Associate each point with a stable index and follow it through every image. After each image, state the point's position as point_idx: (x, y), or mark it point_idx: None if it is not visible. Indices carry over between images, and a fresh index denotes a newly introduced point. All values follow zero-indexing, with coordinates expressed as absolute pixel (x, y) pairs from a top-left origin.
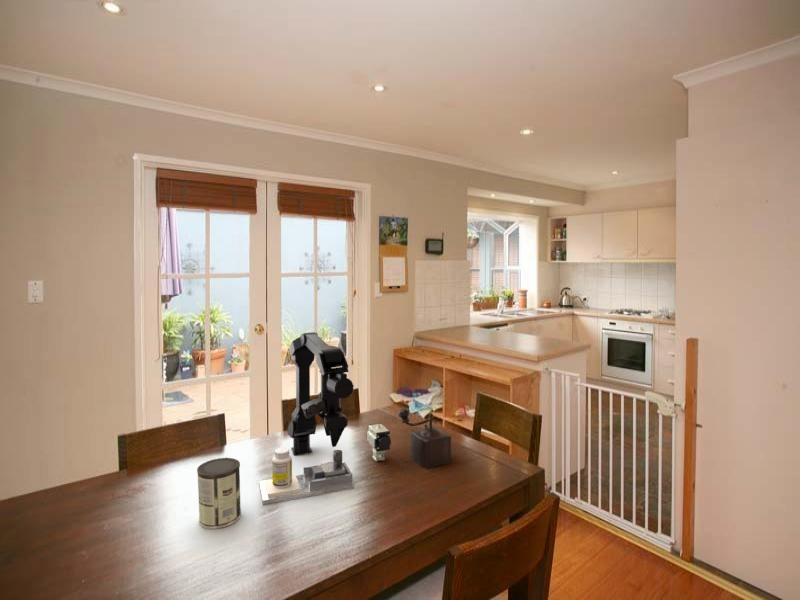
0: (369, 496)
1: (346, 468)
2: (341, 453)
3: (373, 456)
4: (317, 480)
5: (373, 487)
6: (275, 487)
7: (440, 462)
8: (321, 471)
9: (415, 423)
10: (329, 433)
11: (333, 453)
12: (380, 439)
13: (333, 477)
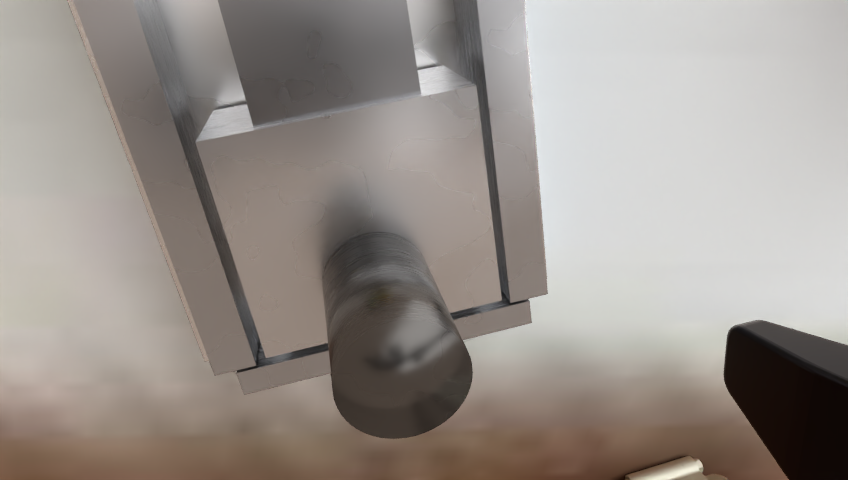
0: (63, 446)
1: None
2: (360, 421)
3: (684, 471)
4: (100, 27)
5: (217, 467)
6: None
7: None
8: (260, 89)
9: None
10: (757, 409)
11: (372, 322)
12: None
13: (177, 219)
